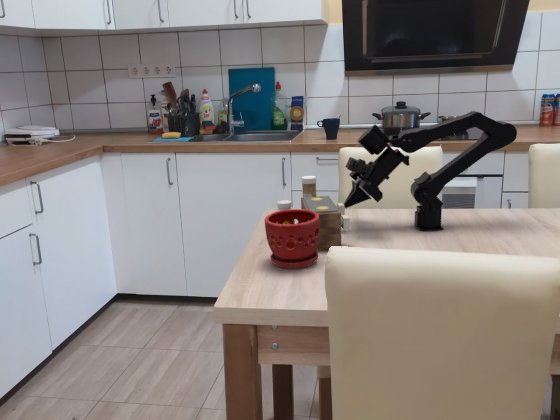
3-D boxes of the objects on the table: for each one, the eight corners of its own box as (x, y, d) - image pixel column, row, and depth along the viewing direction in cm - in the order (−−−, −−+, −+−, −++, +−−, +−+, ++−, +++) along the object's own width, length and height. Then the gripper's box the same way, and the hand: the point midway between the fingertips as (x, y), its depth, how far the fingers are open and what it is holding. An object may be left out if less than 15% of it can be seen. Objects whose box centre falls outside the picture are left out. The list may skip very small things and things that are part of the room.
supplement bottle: (298, 232, 155) (296, 200, 152) (290, 238, 150) (289, 204, 147) (281, 231, 157) (279, 199, 154) (273, 236, 152) (271, 203, 150)
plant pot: (270, 253, 138) (268, 208, 135) (321, 253, 137) (320, 208, 134) (263, 272, 126) (261, 223, 123) (319, 272, 124) (318, 222, 121)
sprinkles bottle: (320, 218, 168) (319, 176, 164) (308, 221, 165) (307, 178, 162) (311, 215, 171) (310, 174, 168) (300, 218, 169) (298, 176, 166)
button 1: (342, 213, 154) (342, 202, 153) (344, 216, 151) (344, 205, 150) (309, 215, 154) (309, 204, 153) (310, 218, 150) (310, 207, 150)
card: (327, 197, 153) (327, 195, 152) (337, 211, 137) (337, 209, 137) (303, 198, 152) (303, 197, 152) (310, 213, 137) (310, 211, 137)
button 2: (347, 226, 142) (347, 214, 141) (349, 230, 138) (349, 218, 138) (311, 228, 141) (311, 217, 140) (313, 232, 138) (312, 220, 137)
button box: (329, 229, 157) (328, 195, 154) (341, 250, 138) (340, 213, 136) (302, 231, 156) (300, 197, 154) (310, 252, 138) (309, 214, 135)
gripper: (356, 142, 157) (319, 181, 159) (371, 152, 139) (329, 195, 141) (382, 167, 160) (345, 205, 162) (400, 180, 142) (359, 222, 144)
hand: (344, 206), depth 152 cm, fingers closed, pressing on button 1
